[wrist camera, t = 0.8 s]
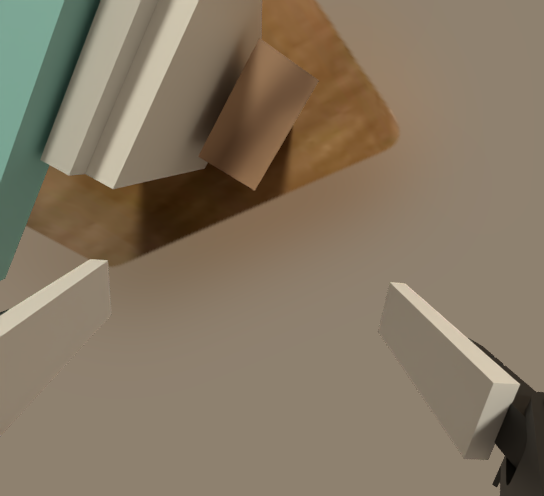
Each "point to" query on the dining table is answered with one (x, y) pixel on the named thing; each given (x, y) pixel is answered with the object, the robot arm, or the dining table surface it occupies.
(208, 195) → the dining table surface
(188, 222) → the dining table surface
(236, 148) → the brown rectangular block
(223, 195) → the dining table surface
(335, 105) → the dining table surface
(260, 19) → the upright white panel
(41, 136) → the bar
